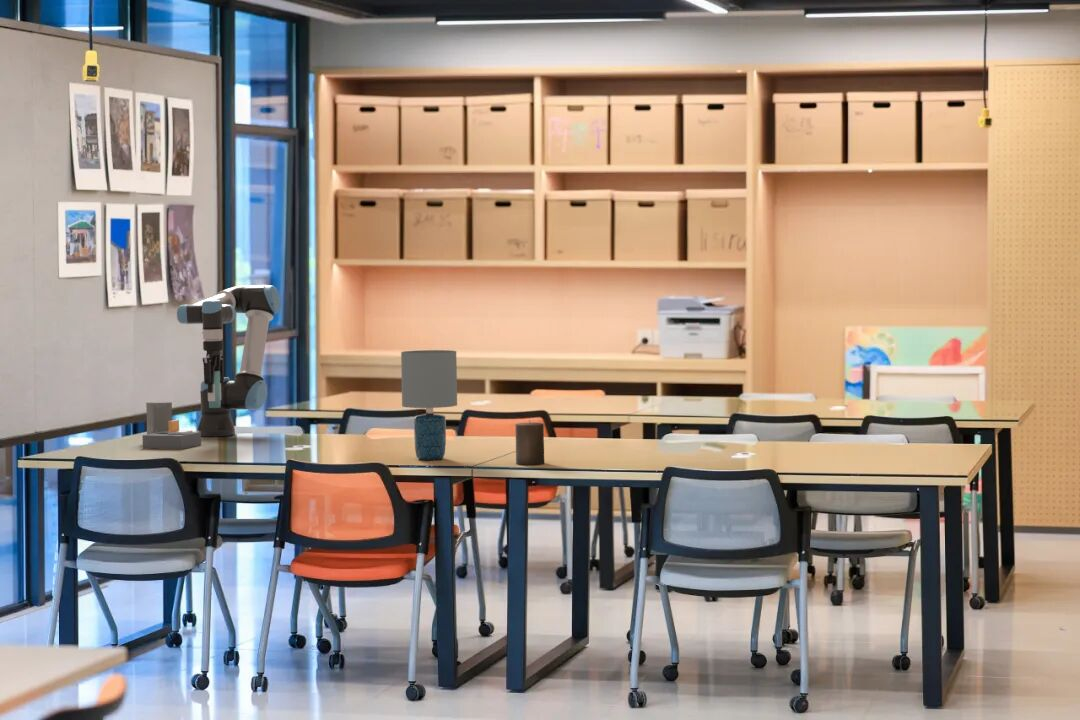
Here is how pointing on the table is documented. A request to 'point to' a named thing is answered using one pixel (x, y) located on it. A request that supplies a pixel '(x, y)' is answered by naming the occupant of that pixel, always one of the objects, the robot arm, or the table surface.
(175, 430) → the shutter
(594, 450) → the table surface
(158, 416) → the skincare box
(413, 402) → the lamp
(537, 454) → the pillar candle
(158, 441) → the socket
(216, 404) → the plug peg
